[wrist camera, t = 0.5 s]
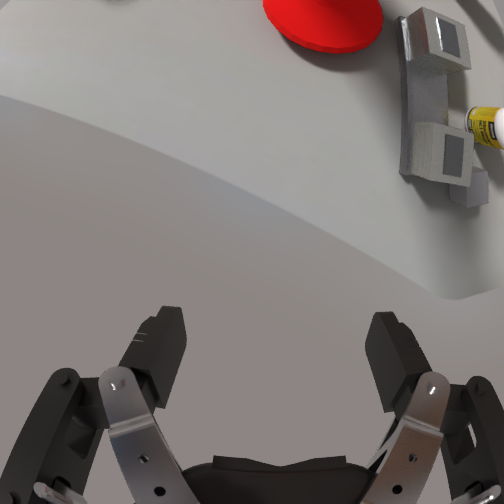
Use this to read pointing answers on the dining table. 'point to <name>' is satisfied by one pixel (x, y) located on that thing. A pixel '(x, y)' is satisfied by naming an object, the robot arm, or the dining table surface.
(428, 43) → the white twin-block stand
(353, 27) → the red disc with nozzle
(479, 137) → the pill bottle
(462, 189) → the gray block
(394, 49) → the dining table surface
